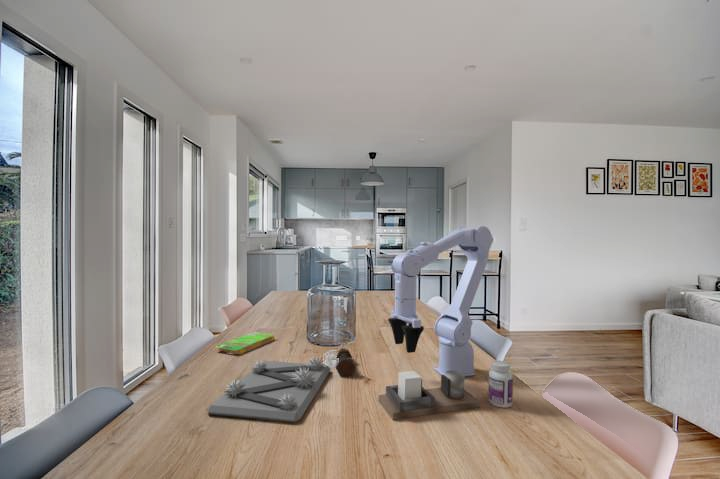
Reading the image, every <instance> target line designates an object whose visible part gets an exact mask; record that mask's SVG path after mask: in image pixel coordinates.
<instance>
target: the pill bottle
mask: <svg viewBox="0 0 720 479" xmlns="http://www.w3.org/2000/svg"><path fill="white" fill-rule="evenodd" d="M510 367H511V366H510V363H509V362H507V361H504V360H493V361H492V362H491V369H490V370H489V372H488V403H490V404H491V405H492V406H494V407H498V408H503V409H507V408H510V407H512V406H513V399H514V398H513V397H514V396H513V388H514V387H513V383H514V382H513V381H514V380H513V378H514V377H513V373H511V372H510V369H511V368H510Z"/></svg>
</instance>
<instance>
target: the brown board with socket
mask: <svg viewBox="0 0 720 479" xmlns="http://www.w3.org/2000/svg"><path fill="white" fill-rule="evenodd" d="M440 375H441V374H440ZM465 377H466V376H465V375H464V373H462V372H459V371H453V370H451V371H447V372H446V373H445V375H441V376H440V378H441V379H440V386H439V387H434V388H433V387H432V388H425V387H424V386H422V397H420V398H412V399H404V400H402V399H401V398H400V397H399V396H398V384H396V385H395V384H394V385H388V386H387V385H386V386H385V393H384V394H379V395H378V403H379V404H380V406H383V407H382V408H383V409H384V410H385V412H386V414H388V416H389V417H390V418H391V420H392V421H396V420H401V419H402V420H403V419H411V418H416V417H423V416H429V415H435V414H437V415H438V414H443V413H450V412H456V411H463V410H470V409H471V410H472V409H477V408H481V400H479V398H477V397H475V396H474V395H473V394H472V393H470V392H469V391H467V390H466V389H465Z"/></svg>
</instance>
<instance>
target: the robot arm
mask: <svg viewBox="0 0 720 479" xmlns="http://www.w3.org/2000/svg"><path fill="white" fill-rule="evenodd" d="M493 241H494V238H493V235H492V233H491V230H490V229H489V228H488V227H487V226H485V225H483V226H468V227H467V226H460V227H458V228H456V229H454V230H453V231H452V232H450V233H449V234H446V235H444V236H443V237H442V238H440V239H438V240H437V241H435V242H434V243H432V242H430V241H429V242H428V241H427V242H426V241H422V242H420V243H419V246H416V247H415V248H413V249H407V250H406V253H404V254H403V253H401V254H397V255H396V256H395V257H394V258H393V259H392V260H393V261H392V263H391V264H390V268H391V271H392V272H393V274H394V308H391V314H390V318H388V320H387V321H388V323H389V324H390V328H391V330H392V335H393V339H394V343H395V345H401V344H402V345H403V344H404V340H405V349H406V353H409V354H410V353H411V354H412V353H416V349H417V347H418V343H419V339H420V336H421V334H422V333H423V332H424V330H425V327H424V326H423V325H422V320H421V319H420V318H419V316H418V314H417V276H418V274H420V272H421V270H422V268H425V267H427V266H428V265H430V264H432V263H434V262H436V261H437V260H438V258H439V255H440V254H442V253H444V252H446V251H448V250H450V249H452V248H454V247H456V246H458V248H459V249H460V250H461V251H462V253H463V254H464V255H465V256H466V258H467V262H466V264H465V266H464V270H463V272H462V275H461V278H460V279H459V283H458V285H457V288H456V290H455V293H454V296H453V298H452V300H451V303H450V306H449V307H447V308H446V309H444V310H442V312H441V315H440V316H439V317H438V318H437V319H436V321H435V323H434V327H433V329H434V333H435V334H436V336H438V337H437V338H438V339H437V340H438V341H439V342H438V343H439V345H438V346H439V348H438V349H439V350H438V352H439V353H438V360H439V361H438V366H433V367H432V368H433V370H434V371H436V372H437V373H438V374H440V375H445V373H446V372H447V371H451V370H453V371H459V372H462V373H464V375H465V377H471V376H472V377H473V376H475V375H476V372H474V365H475V364H474V363H475V362H474V360H475V353H474V348H473V345H472V344H471V343H470V341H469V340H470V338H471V336H472V335H471V334H472V326H473V321H472V319H471V318H470V315H469V312H470V309H471V307H472V304H473V301H474V299H475V296H476V294H477V291H478V288H479V286H480V283H481V280H482V278H483V274H484V272H485V269H486V267H487V264H488V261H489V252H490V250H491V247H492V244H493Z"/></svg>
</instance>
